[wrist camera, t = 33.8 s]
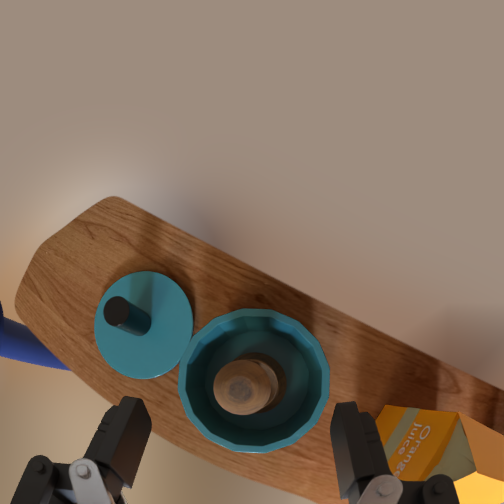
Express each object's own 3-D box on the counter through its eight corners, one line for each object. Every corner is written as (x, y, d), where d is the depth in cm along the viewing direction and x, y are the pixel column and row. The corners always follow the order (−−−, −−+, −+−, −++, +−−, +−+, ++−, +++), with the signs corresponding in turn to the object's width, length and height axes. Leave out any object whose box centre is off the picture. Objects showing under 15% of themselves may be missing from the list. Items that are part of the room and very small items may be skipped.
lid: (163, 399, 29) (137, 403, 22) (83, 343, 32) (50, 332, 25) (214, 301, 34) (201, 281, 27) (130, 258, 37) (105, 233, 30)
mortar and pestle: (298, 385, 28) (336, 393, 12) (252, 423, 27) (233, 474, 11) (258, 342, 31) (246, 297, 15) (213, 378, 29) (149, 375, 13)
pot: (284, 450, 26) (289, 473, 18) (182, 403, 29) (154, 409, 21) (331, 351, 30) (352, 342, 23) (230, 308, 33) (219, 285, 25)
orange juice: (401, 481, 22) (502, 535, 4) (348, 458, 25) (436, 529, 6) (435, 428, 25) (555, 439, 6) (385, 402, 27) (506, 409, 9)
